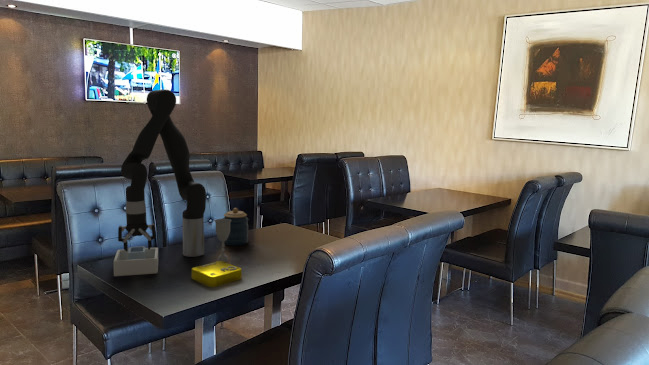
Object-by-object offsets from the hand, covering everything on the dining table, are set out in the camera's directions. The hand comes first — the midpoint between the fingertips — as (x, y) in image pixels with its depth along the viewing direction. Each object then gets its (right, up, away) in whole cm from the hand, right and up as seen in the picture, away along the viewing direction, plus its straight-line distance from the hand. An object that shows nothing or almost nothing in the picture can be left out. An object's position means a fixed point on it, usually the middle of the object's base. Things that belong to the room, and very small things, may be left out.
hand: (138, 249), depth 191 cm
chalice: (+32, -7, +15) cm, 36 cm away
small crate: (-1, -7, +1) cm, 7 cm away
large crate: (-1, -8, +1) cm, 8 cm away
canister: (+31, -3, +44) cm, 54 cm away
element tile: (+34, -11, -7) cm, 36 cm away
